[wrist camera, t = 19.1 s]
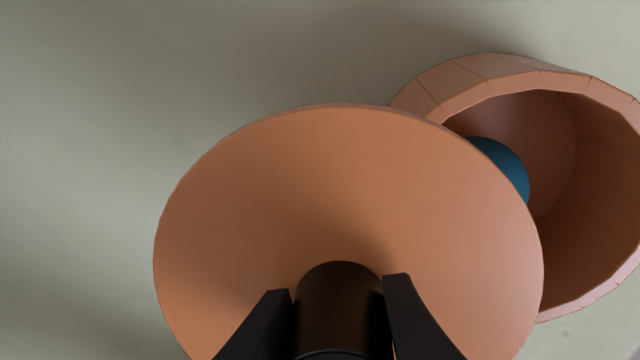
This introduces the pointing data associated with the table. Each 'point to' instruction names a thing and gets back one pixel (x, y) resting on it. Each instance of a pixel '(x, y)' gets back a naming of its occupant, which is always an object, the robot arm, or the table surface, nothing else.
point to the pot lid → (347, 235)
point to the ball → (504, 162)
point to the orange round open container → (552, 161)
